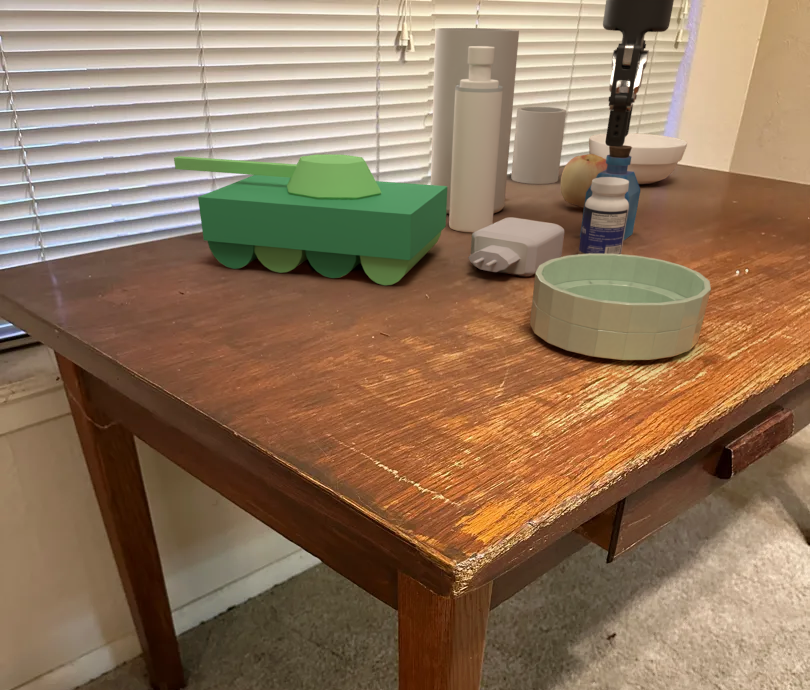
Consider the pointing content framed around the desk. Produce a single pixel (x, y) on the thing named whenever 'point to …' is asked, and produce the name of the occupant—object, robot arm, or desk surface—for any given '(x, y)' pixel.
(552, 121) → the cup
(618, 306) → the ceramic bowl
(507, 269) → the charger
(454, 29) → the cylinder vase
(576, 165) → the apple
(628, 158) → the perfume bottle
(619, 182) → the pill bottle
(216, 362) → the desk surface
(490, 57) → the spray bottle
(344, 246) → the toy tank
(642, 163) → the bowl
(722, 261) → the desk surface
